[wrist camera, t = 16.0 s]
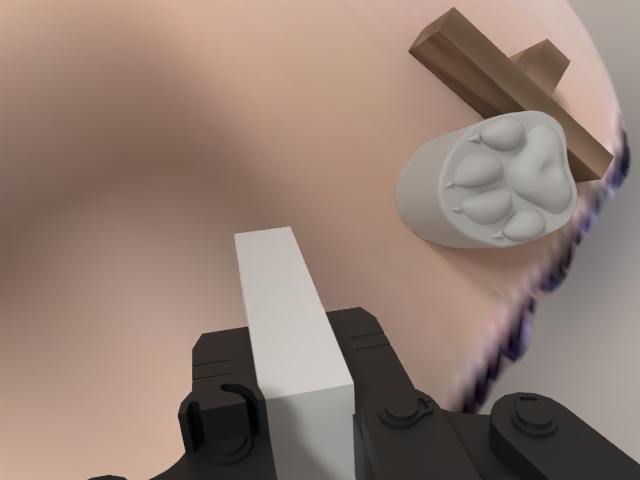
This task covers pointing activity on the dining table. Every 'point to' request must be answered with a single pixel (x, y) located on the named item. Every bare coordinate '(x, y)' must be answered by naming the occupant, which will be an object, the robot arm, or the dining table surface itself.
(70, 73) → the dining table surface
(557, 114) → the t stop
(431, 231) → the lumpy-topped squat cylinder
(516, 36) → the dining table surface
